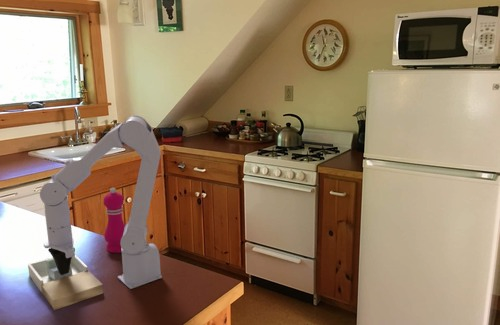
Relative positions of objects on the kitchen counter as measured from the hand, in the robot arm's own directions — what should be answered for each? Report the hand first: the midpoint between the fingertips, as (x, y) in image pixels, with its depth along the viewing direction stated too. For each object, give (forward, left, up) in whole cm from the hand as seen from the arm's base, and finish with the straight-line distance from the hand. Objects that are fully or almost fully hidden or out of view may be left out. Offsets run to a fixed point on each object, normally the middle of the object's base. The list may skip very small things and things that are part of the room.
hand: (64, 273), depth 115 cm
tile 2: (0, -3, -2) cm, 3 cm away
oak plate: (0, +6, -3) cm, 6 cm away
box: (0, -5, -3) cm, 6 cm away
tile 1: (0, -5, 0) cm, 5 cm away
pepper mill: (-20, -12, -4) cm, 24 cm away
